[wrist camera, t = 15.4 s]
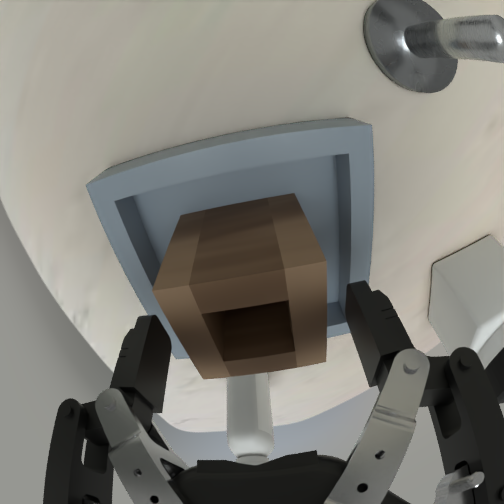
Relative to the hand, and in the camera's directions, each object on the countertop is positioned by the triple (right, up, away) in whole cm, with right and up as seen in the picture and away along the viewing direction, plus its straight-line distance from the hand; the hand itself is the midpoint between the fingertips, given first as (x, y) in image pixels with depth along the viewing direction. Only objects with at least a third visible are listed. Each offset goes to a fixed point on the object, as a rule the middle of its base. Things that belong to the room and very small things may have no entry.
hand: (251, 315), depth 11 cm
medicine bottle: (+18, 0, +8) cm, 20 cm away
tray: (0, +3, +5) cm, 6 cm away
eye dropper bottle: (0, -8, +12) cm, 15 cm away
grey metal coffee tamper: (+9, +14, -2) cm, 16 cm away
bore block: (0, +3, +5) cm, 5 cm away
